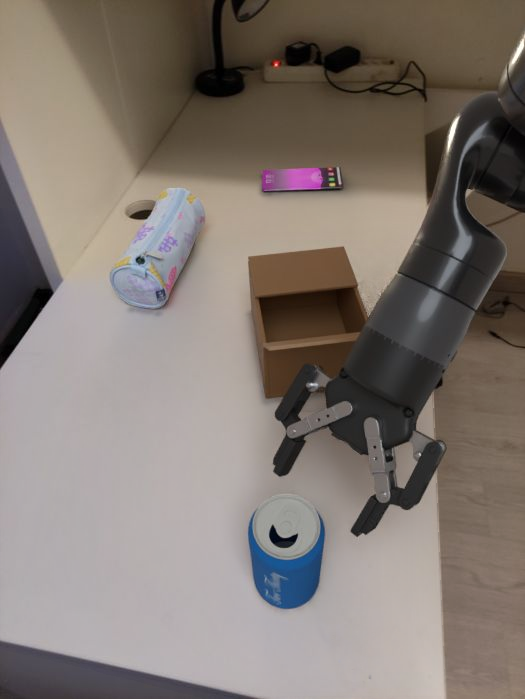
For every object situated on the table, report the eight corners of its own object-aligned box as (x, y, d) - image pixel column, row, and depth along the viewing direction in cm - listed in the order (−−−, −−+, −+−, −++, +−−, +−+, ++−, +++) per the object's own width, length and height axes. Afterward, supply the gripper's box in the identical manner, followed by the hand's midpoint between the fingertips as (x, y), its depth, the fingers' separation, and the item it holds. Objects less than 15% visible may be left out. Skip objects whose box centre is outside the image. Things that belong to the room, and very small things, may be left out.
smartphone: (342, 190, 99) (343, 186, 99) (262, 192, 100) (261, 188, 99) (340, 170, 104) (340, 166, 103) (262, 172, 105) (262, 167, 104)
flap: (375, 330, 61) (375, 333, 61) (263, 343, 60) (263, 346, 60) (397, 331, 53) (397, 335, 53) (268, 346, 52) (269, 351, 52)
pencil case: (168, 318, 78) (156, 267, 71) (113, 310, 80) (96, 259, 73) (210, 234, 92) (204, 184, 85) (163, 228, 93) (153, 179, 86)
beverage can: (243, 596, 52) (234, 547, 43) (267, 535, 56) (264, 478, 47) (307, 622, 50) (311, 576, 41) (327, 557, 54) (335, 503, 45)
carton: (366, 386, 69) (376, 330, 61) (265, 399, 68) (262, 343, 60) (338, 302, 79) (344, 245, 72) (251, 312, 79) (247, 256, 71)
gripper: (321, 297, 45) (235, 461, 48) (481, 383, 38) (371, 567, 41) (352, 309, 51) (275, 452, 54) (494, 385, 44) (398, 543, 47)
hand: (317, 502), depth 47 cm, fingers open, 8 cm apart
